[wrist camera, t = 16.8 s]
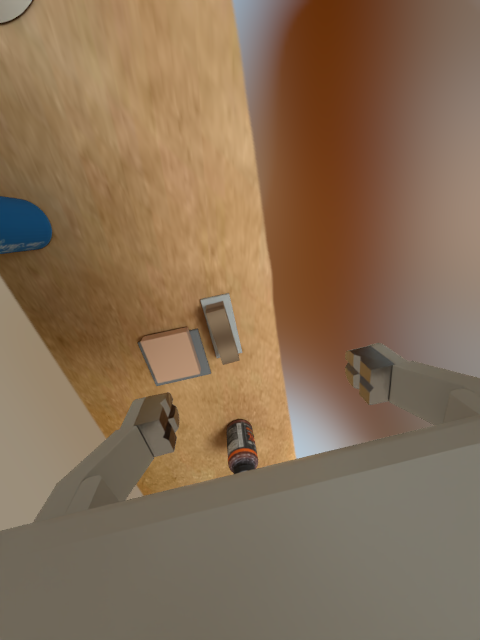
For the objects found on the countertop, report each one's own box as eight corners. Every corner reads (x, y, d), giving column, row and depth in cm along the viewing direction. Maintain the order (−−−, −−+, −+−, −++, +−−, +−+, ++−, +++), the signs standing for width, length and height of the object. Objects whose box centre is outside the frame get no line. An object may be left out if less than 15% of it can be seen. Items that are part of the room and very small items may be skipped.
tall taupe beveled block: (206, 305, 38) (205, 313, 34) (223, 300, 38) (224, 308, 34) (222, 352, 42) (222, 364, 38) (237, 348, 42) (239, 360, 38)
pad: (200, 299, 38) (200, 300, 38) (228, 293, 38) (229, 293, 38) (216, 356, 43) (216, 358, 42) (241, 351, 43) (242, 352, 43)
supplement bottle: (256, 429, 52) (267, 479, 41) (235, 440, 53) (240, 493, 42) (243, 414, 50) (250, 463, 39) (221, 426, 50) (223, 478, 40)
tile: (140, 341, 37) (157, 383, 41) (186, 331, 37) (200, 373, 41) (143, 336, 39) (160, 376, 43) (187, 326, 39) (200, 367, 43)
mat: (138, 341, 40) (137, 343, 40) (197, 328, 40) (197, 329, 40) (157, 384, 44) (156, 386, 44) (210, 372, 44) (210, 373, 44)
